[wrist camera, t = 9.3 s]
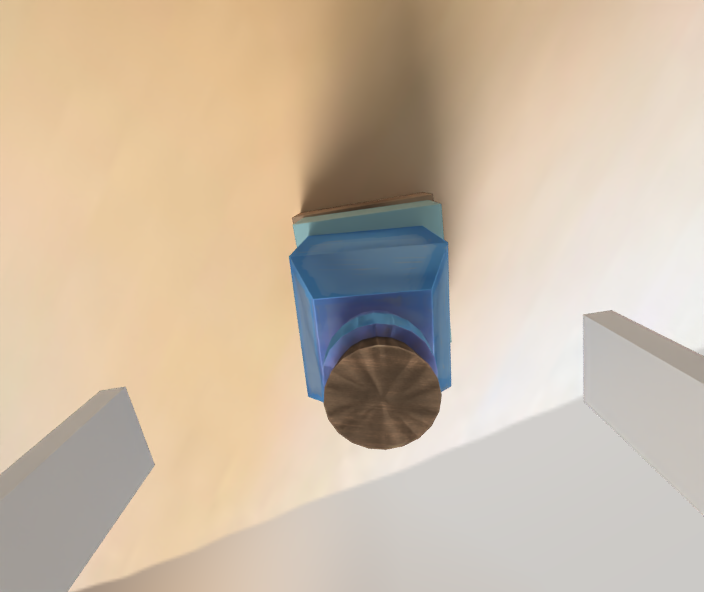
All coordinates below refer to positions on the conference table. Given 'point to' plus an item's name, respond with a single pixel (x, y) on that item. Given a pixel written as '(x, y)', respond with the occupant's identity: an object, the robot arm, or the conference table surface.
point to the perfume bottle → (375, 330)
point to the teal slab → (373, 220)
